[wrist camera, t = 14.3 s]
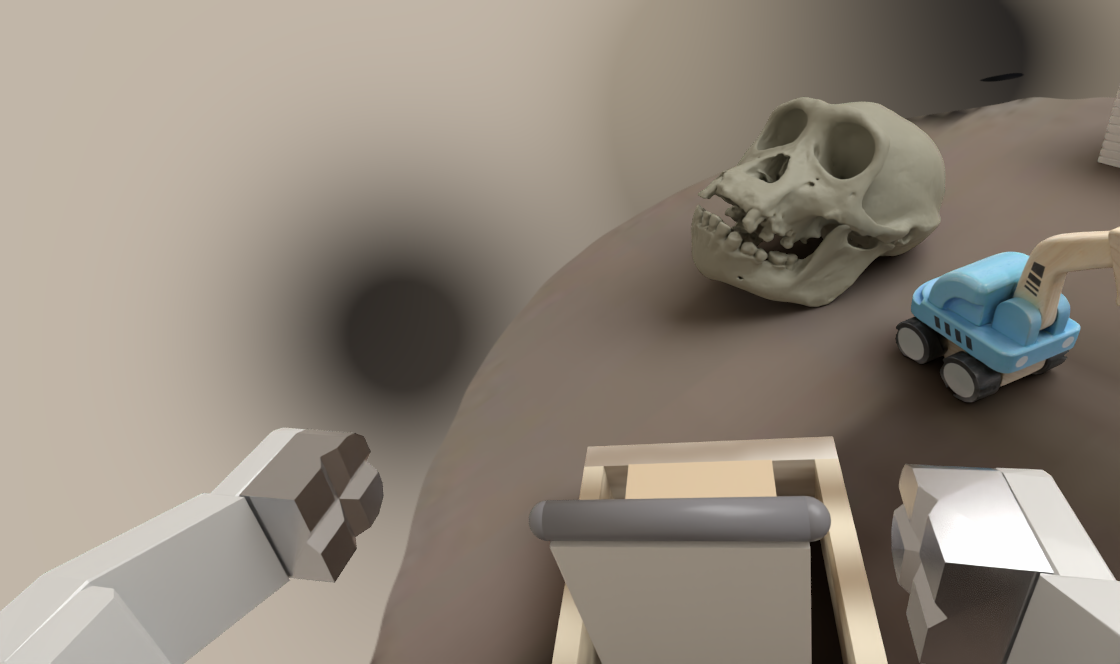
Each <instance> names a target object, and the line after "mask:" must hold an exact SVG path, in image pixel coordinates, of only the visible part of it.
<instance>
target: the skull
mask: <svg viewBox="0 0 1120 664" xmlns="http://www.w3.org/2000/svg"><path fill="white" fill-rule="evenodd" d="M944 193H945V166H944V162H943V159H942V156H941V154H940V152H939V150H938V148H937V146H936V145H935V143H934V142H933V141H932V139H931V138H930V137H929V136H928V135H927V134H926V133H925V132H923V131H922V130H921V129H919V128H918V127H917V126H916V125H915V124H913V123H911V122H909V121H908V120H906V119H904V118H902V117H900V116H899V115H897V114H896V113H895V112H893V111H891V110H889V109H887V108H885V107H884V106H882V105H880V104H877V103H873V102H852V103H845V104H834V105H832V104H828V103H826V102H824V101H822V100H818V99H812V98H807V97H802V98H797V99H794V100H792V101H790V102H787V103H784V104H782V105H780V106H778V107H777V108H776V109H775V110H774V111H773V112H772V114H771V115H770V117H769V119H768V121H767V123H766V125H765V127H764V129H763V130H762V132H761V133H760V135H759V137H758V138H757V139H756V141H755V142H754V143H753V144H752V145H751V146H750V148H749V149H748V150H747V151H746V153H745V154H744V156H743V157H742V159H741V160H740V162H739V163H738V164H737V166H736V167H734V168H731V169H729V170H727V171H722V173H721V174H720V175H719V176H718V177H717V178H716V179H714V181H713V182H711V184H710V185H709V186H708V187H706V188H705V189H704V190H702V191H700V192H699V193H698V196H700V197H702V198H704V199H706V198H707V199H710V198H711V197H712V196H713V195H717V196H719V197H721V198H722V199H723V200H724V201H725V202H727V203H729V204H732V205H733V206H732V207H730V208H728V209H727V210H726V212H725V215H726V216H730V217H731V218H732V219H733V220H734V221H736V224H735V226H733V227H729V226H728V225H726V224H725V223H724V222H723V220H722V219H721V218H720V217H718V216H716V215H715V214H711V213H710V212H708V211H706V210H705V209H704V208H702V207H701V206H700V205H697V207H696V209H695V212H694V215H693V218H692V227H691V233H692V257H693V261H694V263H695V265H696V267H697V268H698V269H699V271H700V272H701V273H702V274H703V275H704V276H705V277H707V278H709V279H711V280H718V281H721V282H725V283H727V284H730V285H732V286H735V287H737V288H740V289H743V290H745V291H748V292H750V293H753V294H755V295H758V296H760V297H763V298H766V299H769V300H774V301H782V302H793V303H798V304H801V305H805V306H809V307H818V306H821V305H826V304H829V303H830V302H832V301H833V300H834V299H835V298H836V297H838V296H839V295H840V294H842V293H843V292H844V291H845V290H846V289H847V288H849V287H850V286H851V285H852V284H853V283H854V282H855V280H856V279H857V278H858V277H859V275H860V274H861V273H862V272H863V271H864V270H865V269H866V268H867V266H868V265H869V264H870V263H871V262H872V261H873V260H874V259H876V258H877V257H878V256H896V255H900V254H902V253H904V252H907V251H909V250H910V249H912V248H913V247H915V246H916V245H918V244H919V243H921V242H922V241H923V240H924V239H926V238H927V237H928V236H929V235H930V234H931V233H932V232H933V231H934V230H935V229H936V228H937V227H938V225H939V224H940V220H941V218H940V215H939V211H940V207H941V204H942V200H943V197H944ZM774 234H776V235H778V236H783V238H782V239H781V241H780V244H781V245H782V246H783V247H785V248H786V249H790V248H792V247H793V243H794V242H796V241H798V240H800V241H801V242H802V243H807V239H808V238H811V237H813V238H819V237H820V236H822V238H823V239H824V240H823V241H822V242H821V244H820V245H819V247H818V248H817V249H816V250H815V252H814V253H813V254H811V255H809V256H808V257H806V258H805V259H797V256H796V255H795V254H786V253H781V252H778V251H770V252H769V253H768V256H767V253H766V252H765V251H764V250H763V249H762V248H757V246H758V245H759V244H760V243H761V242H763V241H766V242H770V241H771V240H772V239H773V238H774ZM852 240H853V241H852ZM767 257H768V260H766V261H764V260H765V259H766V258H767Z"/></svg>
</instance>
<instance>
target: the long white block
mask: <svg viewBox="0 0 1120 664" xmlns="http://www.w3.org/2000/svg"><path fill="white" fill-rule="evenodd" d="M1119 88H1120V85H1119ZM1116 97H1118V98H1117V99H1115V102H1114V105H1115V106H1116V107H1113V109H1112V113H1111V114H1113V115H1112V116H1110V120H1109V122H1110V124H1108V127H1107V131H1108V132H1106V134H1105V137H1104V139H1106V140H1104V141H1103V144H1102V147H1104V148H1102V149H1101V151H1100V155H1101V156H1099V158H1098V162H1100V163H1104V164H1107V165H1111V166H1115V167H1118V168H1120V90H1118V92H1117V95H1116Z"/></svg>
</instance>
